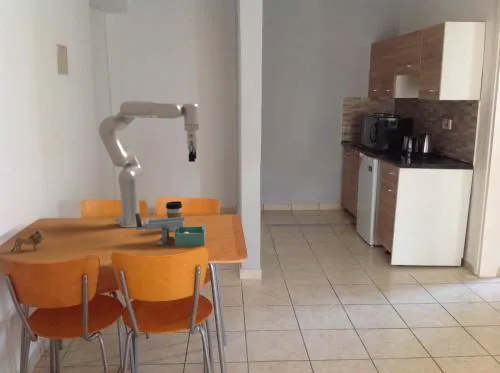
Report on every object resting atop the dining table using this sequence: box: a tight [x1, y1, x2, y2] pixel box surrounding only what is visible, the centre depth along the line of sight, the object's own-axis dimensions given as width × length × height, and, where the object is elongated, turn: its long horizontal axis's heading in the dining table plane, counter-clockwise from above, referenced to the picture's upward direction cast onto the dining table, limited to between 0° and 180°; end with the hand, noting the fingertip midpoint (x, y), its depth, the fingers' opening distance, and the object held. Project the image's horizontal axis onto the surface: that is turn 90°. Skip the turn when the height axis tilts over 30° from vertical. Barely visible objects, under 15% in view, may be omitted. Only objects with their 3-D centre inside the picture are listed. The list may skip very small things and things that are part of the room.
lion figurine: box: [11, 230, 46, 253], centre depth 221 cm, size 15×5×9 cm, turn 110°
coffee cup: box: [165, 200, 183, 232], centre depth 250 cm, size 8×8×15 cm
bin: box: [173, 222, 207, 247], centre depth 232 cm, size 14×12×8 cm
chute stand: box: [157, 226, 175, 247], centre depth 231 cm, size 6×12×10 cm, turn 2°
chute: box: [135, 212, 186, 231], centre depth 230 cm, size 23×7×8 cm, turn 92°
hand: (192, 160), depth 250 cm, fingers open, 9 cm apart
